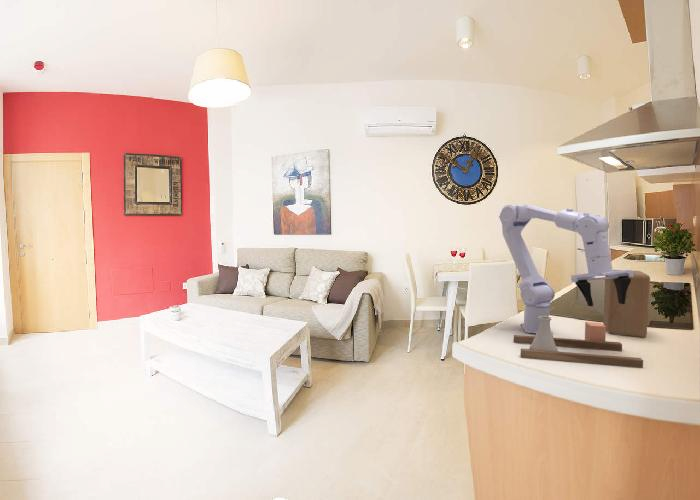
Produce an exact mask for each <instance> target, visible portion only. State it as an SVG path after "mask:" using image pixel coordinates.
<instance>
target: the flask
mask: <svg viewBox="0 0 700 500" xmlns="http://www.w3.org/2000/svg"><path fill="white" fill-rule="evenodd" d="M539 320H540V323H539V328H538V331H537V333H535V335H534V336H535V338H534V340H533V342H532V344H530V347H529V349H535V350H547V351H558V348H557V346H556V345H555V342H554V339H553V338H554V337H553V334H552V333H553V332H552V330H551V321H552V317H550V316H549V317H547V316H539ZM551 332H552V333H551Z"/></svg>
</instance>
